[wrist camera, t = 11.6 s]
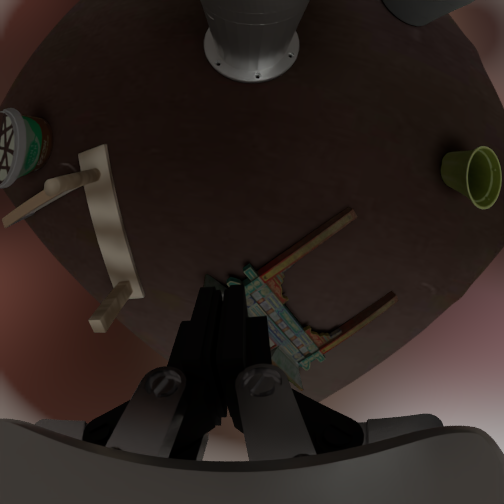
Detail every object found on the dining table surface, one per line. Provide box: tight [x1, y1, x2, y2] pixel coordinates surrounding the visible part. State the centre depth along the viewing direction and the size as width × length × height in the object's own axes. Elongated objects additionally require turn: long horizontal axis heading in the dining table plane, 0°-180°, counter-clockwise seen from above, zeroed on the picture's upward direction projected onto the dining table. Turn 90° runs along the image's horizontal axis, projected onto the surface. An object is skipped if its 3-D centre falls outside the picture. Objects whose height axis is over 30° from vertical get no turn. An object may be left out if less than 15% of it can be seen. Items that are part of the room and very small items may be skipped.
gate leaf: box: [2, 187, 78, 228], centre depth 31 cm, size 15×2×7 cm, turn 105°
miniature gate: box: [203, 207, 398, 391], centre depth 41 cm, size 27×6×30 cm
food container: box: [0, 108, 53, 188], centre depth 27 cm, size 12×6×10 cm, turn 165°
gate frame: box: [44, 144, 145, 332], centre depth 32 cm, size 24×5×12 cm, turn 8°
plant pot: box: [441, 146, 502, 209], centre depth 31 cm, size 9×9×9 cm
